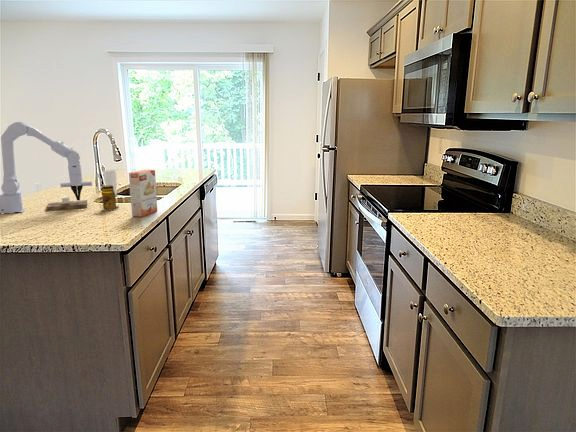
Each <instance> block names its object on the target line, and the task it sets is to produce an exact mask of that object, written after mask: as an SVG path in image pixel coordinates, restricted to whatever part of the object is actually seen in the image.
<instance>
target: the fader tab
mask: <svg viewBox="0 0 576 432" xmlns="http://www.w3.org/2000/svg"><path fill="white" fill-rule="evenodd" d="M61 202H62V203H63V204H67V203H69V202H70V195H65V196H62V197H61Z"/></svg>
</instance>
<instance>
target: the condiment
mask: <svg viewBox="0 0 576 432" xmlns="http://www.w3.org/2000/svg"><path fill="white" fill-rule="evenodd" d="M101 198H102V209H101V211H102V212H103V211H116V210H117V211H118V210H119V207H120V206H119V205H118V206H117V203H116V202H117V201H116V195H115V191H114V189H113V186H111V185H108V186H106V185H102V187H101Z"/></svg>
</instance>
